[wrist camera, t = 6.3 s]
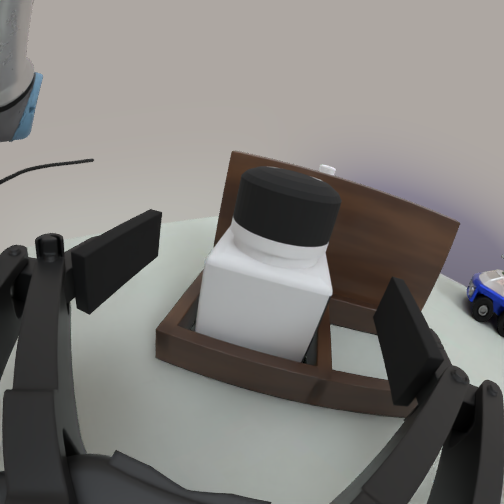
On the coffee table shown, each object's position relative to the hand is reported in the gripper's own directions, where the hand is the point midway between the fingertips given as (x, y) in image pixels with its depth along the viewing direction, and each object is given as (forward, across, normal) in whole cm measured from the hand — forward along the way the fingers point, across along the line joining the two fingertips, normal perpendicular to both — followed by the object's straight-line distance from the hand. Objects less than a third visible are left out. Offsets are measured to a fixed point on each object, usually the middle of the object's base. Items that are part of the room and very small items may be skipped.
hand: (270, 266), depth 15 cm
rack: (+3, +5, -7) cm, 9 cm away
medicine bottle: (+3, 0, -8) cm, 8 cm away
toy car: (+18, +35, -8) cm, 40 cm away
